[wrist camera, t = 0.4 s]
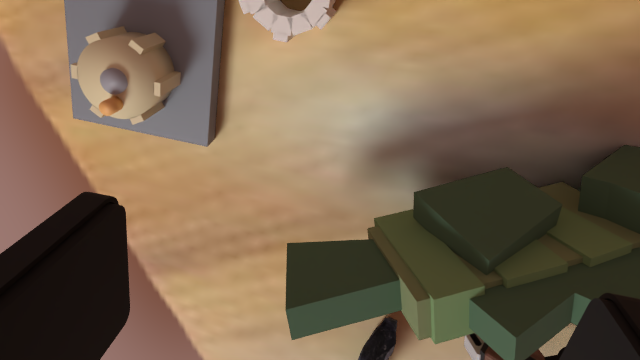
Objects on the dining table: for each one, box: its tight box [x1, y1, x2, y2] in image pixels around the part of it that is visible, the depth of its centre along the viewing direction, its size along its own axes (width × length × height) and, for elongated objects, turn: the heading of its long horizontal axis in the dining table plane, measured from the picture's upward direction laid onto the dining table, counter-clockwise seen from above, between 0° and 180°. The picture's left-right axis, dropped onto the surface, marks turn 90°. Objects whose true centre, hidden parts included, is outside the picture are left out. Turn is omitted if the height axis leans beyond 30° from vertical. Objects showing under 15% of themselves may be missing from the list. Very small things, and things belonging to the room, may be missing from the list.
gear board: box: [64, 0, 225, 147], centre depth 36 cm, size 22×13×8 cm, turn 170°
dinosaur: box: [286, 145, 640, 360], centre depth 35 cm, size 35×12×19 cm, turn 97°
